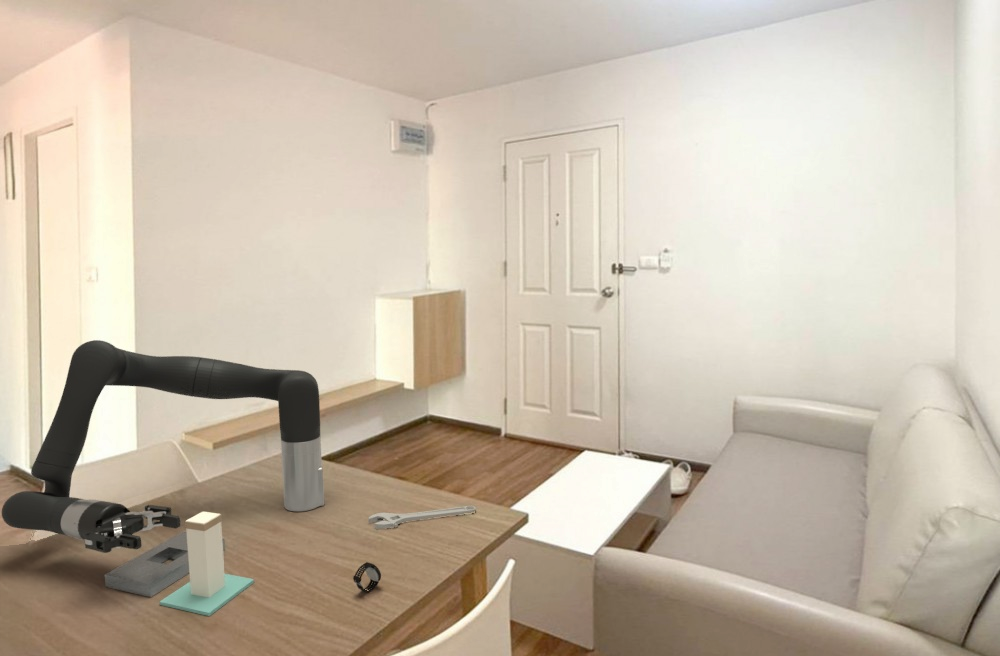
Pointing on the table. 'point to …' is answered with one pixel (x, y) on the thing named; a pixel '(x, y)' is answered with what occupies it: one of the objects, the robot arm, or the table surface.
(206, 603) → the mat
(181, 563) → the socket plate
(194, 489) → the table surface
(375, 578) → the smartwatch
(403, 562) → the table surface
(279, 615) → the table surface
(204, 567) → the post
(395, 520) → the adjustable wrench
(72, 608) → the table surface
